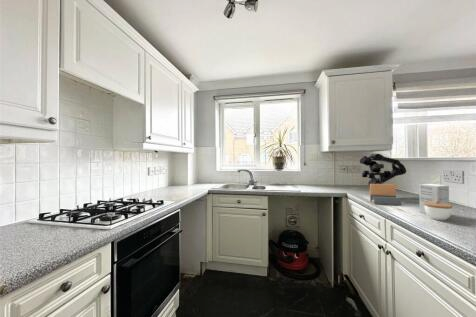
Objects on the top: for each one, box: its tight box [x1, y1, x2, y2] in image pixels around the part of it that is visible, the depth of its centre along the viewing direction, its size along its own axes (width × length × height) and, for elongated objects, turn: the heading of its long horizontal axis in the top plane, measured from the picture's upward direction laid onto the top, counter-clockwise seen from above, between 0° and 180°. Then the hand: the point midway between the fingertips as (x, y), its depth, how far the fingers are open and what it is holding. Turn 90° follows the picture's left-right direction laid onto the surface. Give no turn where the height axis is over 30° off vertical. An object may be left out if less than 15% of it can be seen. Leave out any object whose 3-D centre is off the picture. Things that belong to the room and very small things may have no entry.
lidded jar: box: [424, 201, 453, 221], centre depth 108 cm, size 11×11×9 cm
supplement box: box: [418, 183, 450, 215], centre depth 117 cm, size 10×9×17 cm
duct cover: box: [369, 183, 397, 197], centre depth 149 cm, size 8×16×1 cm
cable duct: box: [369, 194, 402, 206], centre depth 145 cm, size 9×16×5 cm, turn 73°
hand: (378, 182), depth 156 cm, fingers open, 3 cm apart
